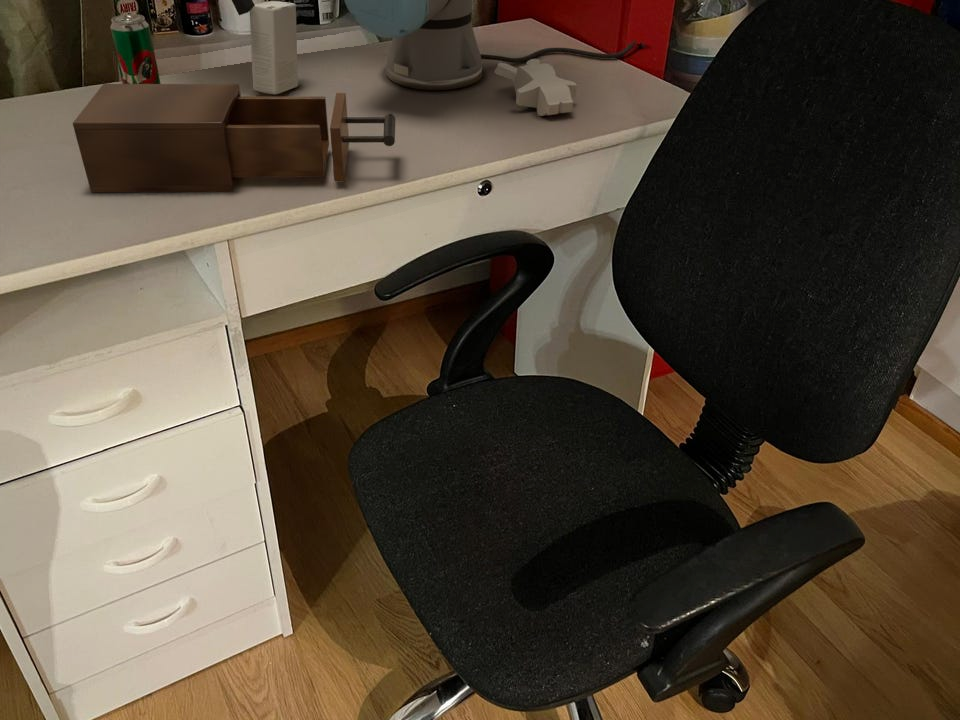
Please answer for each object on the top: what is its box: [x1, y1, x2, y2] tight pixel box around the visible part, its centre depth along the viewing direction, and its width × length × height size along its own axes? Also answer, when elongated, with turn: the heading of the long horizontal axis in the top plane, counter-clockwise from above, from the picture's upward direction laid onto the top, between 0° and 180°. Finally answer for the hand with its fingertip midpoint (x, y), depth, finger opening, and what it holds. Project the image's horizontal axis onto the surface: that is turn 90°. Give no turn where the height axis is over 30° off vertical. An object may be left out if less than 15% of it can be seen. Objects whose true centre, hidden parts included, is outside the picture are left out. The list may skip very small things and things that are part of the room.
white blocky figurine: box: [494, 58, 578, 117], centre depth 128 cm, size 10×5×15 cm
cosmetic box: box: [249, 0, 299, 95], centre depth 127 cm, size 6×4×12 cm
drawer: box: [224, 92, 396, 183], centre depth 106 cm, size 22×11×7 cm, turn 94°
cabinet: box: [72, 83, 242, 193], centre depth 105 cm, size 17×13×9 cm
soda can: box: [109, 13, 162, 84], centre depth 121 cm, size 5×5×12 cm
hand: (246, 10), depth 121 cm, fingers closed
